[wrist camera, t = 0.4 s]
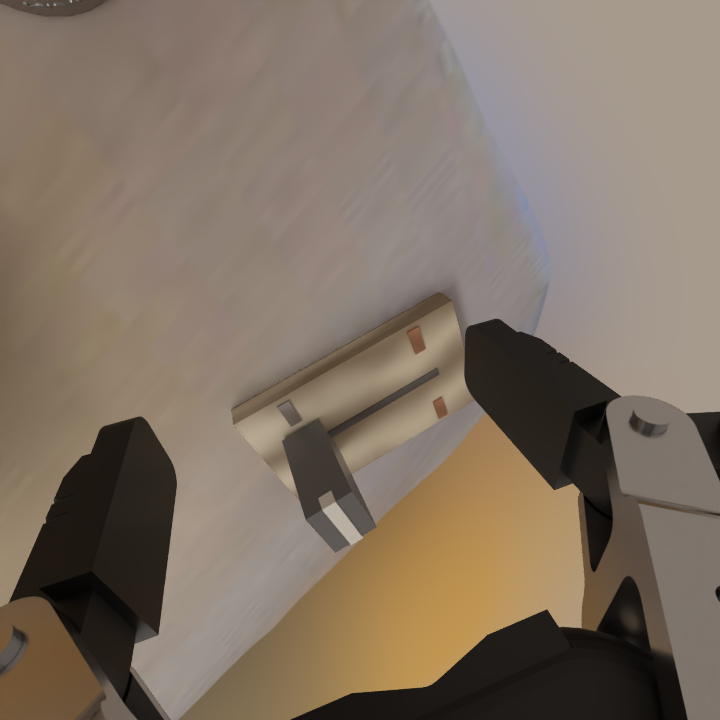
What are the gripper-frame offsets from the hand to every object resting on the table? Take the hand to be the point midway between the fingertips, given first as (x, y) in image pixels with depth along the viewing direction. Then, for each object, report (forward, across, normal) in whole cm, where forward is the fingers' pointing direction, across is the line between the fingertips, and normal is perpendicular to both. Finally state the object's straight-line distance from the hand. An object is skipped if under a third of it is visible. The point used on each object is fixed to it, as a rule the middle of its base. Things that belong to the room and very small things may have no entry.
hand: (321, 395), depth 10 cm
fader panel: (+19, -5, +17) cm, 26 cm away
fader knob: (+16, +1, +19) cm, 25 cm away
